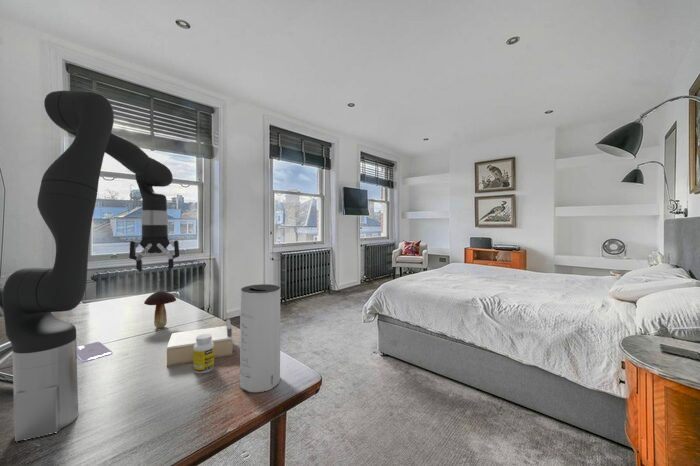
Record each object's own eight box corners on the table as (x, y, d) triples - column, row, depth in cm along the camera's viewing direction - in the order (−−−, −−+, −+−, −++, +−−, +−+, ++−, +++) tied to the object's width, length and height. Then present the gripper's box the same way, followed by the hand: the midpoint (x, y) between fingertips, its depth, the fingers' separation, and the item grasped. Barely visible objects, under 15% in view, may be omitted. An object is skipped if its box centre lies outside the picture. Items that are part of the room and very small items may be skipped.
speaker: (288, 383, 77) (288, 286, 76) (250, 399, 70) (250, 292, 69) (268, 368, 85) (268, 280, 84) (233, 381, 78) (232, 285, 77)
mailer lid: (232, 339, 93) (232, 329, 93) (166, 349, 85) (166, 338, 85) (230, 327, 104) (230, 318, 103) (172, 335, 96) (172, 325, 96)
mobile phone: (82, 360, 88) (70, 348, 96) (82, 363, 88) (70, 350, 96) (113, 351, 94) (99, 340, 102) (113, 354, 94) (99, 343, 102)
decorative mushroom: (143, 327, 117) (142, 290, 117) (174, 321, 124) (173, 286, 124) (145, 335, 109) (144, 295, 108) (178, 328, 116) (178, 291, 115)
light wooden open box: (232, 355, 93) (232, 340, 93) (166, 366, 85) (166, 350, 85) (230, 341, 104) (230, 327, 104) (172, 350, 96) (172, 335, 96)
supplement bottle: (205, 375, 81) (205, 340, 81) (189, 373, 82) (188, 339, 82) (218, 365, 86) (218, 333, 86) (202, 364, 87) (202, 332, 87)
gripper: (126, 223, 93) (127, 273, 94) (177, 224, 100) (178, 270, 100) (132, 223, 100) (132, 270, 100) (179, 224, 106) (180, 267, 107)
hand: (155, 270), depth 100 cm, fingers open, 8 cm apart
